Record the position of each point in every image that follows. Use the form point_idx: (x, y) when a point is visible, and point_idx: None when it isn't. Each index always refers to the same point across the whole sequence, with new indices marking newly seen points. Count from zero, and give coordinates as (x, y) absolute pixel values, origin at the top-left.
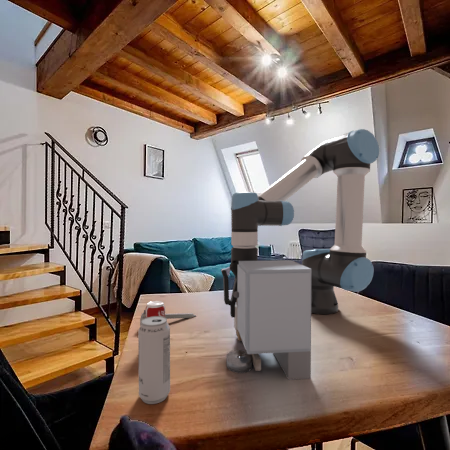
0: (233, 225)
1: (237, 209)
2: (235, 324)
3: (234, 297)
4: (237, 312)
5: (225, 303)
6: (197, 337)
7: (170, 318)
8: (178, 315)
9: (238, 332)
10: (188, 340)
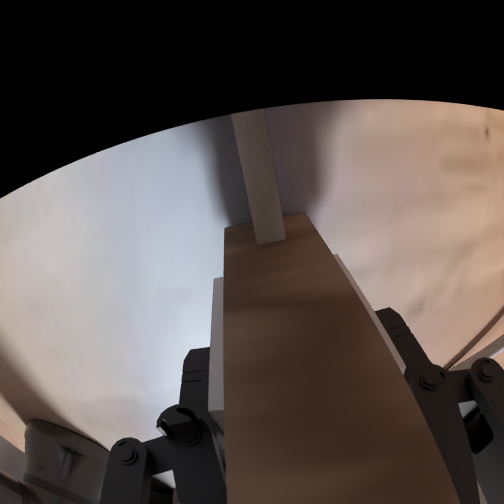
0: None
1: None
2: (348, 274)
3: (451, 442)
4: (480, 70)
5: (491, 361)
6: (452, 255)
7: (489, 345)
8: (471, 365)
9: (317, 234)
10: (478, 227)
